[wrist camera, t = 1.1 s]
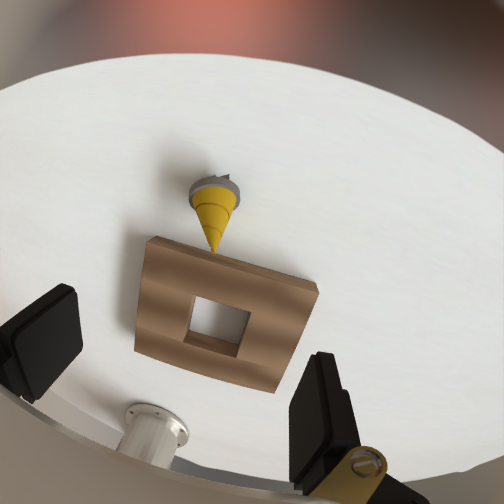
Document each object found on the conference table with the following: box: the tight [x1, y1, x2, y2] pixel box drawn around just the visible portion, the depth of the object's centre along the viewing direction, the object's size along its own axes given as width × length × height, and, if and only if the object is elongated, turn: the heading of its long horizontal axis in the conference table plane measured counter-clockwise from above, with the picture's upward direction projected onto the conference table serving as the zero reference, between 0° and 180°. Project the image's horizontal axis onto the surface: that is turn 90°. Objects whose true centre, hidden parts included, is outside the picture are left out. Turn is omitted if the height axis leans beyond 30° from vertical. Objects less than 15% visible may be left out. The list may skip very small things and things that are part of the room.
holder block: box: [134, 236, 319, 394], centre depth 35 cm, size 16×20×3 cm
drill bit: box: [189, 174, 240, 254], centre depth 29 cm, size 5×5×10 cm
